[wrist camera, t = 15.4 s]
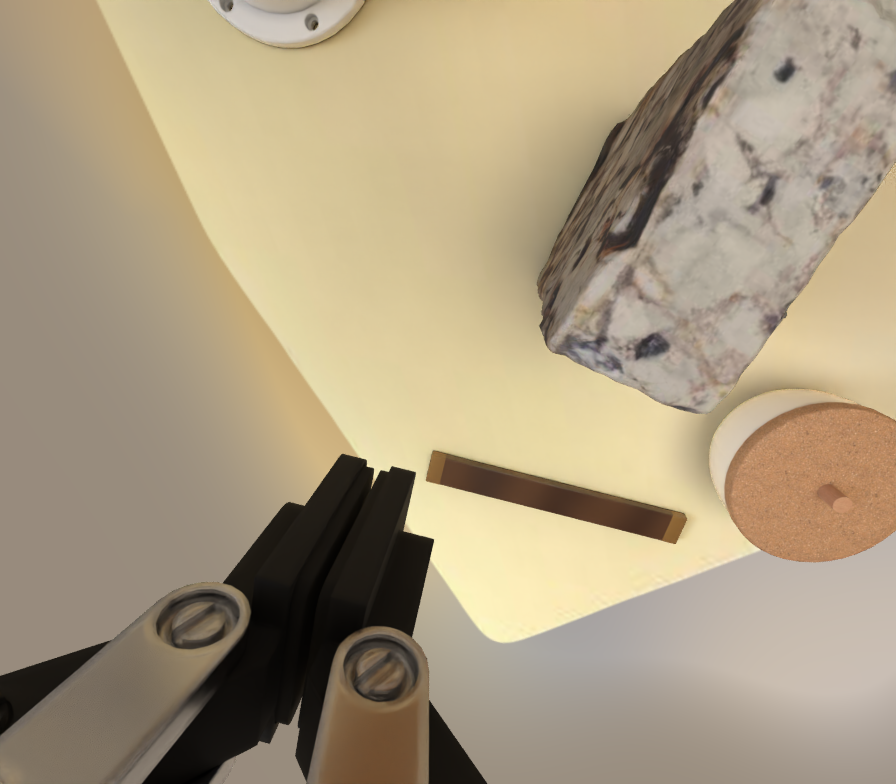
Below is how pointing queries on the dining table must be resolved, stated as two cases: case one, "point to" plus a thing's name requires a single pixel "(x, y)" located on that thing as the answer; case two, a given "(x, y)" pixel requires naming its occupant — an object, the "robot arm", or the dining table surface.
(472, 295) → the dining table surface
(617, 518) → the walnut straight-edge
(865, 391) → the dining table surface
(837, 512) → the trinket box
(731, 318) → the stone block
